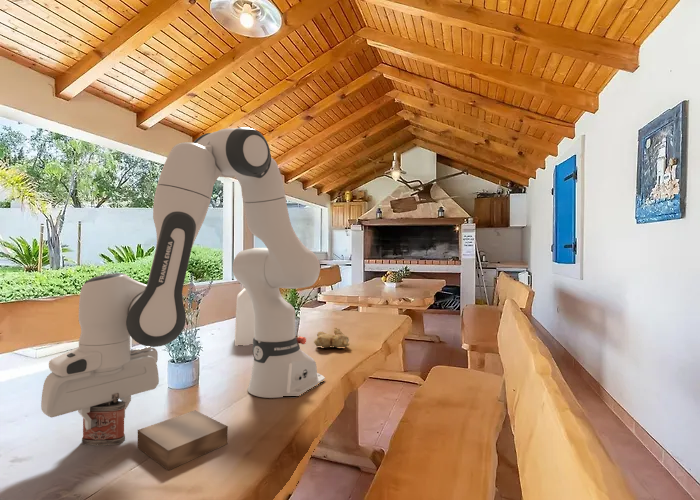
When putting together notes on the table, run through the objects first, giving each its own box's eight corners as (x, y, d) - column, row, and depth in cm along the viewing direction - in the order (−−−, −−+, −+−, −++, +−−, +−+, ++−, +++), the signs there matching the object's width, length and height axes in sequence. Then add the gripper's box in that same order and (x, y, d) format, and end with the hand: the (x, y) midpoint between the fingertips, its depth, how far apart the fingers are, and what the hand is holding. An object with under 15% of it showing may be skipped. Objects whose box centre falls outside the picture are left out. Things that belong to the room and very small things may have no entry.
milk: (234, 338, 165) (235, 277, 165) (262, 337, 169) (263, 277, 169) (235, 345, 154) (236, 279, 154) (265, 344, 157) (265, 279, 157)
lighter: (128, 436, 80) (128, 388, 80) (119, 445, 77) (119, 394, 77) (88, 436, 80) (89, 388, 80) (77, 445, 77) (77, 394, 77)
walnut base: (195, 426, 85) (195, 410, 85) (227, 443, 78) (227, 426, 78) (137, 447, 76) (137, 430, 76) (168, 470, 69) (168, 450, 69)
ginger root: (346, 351, 143) (341, 329, 144) (307, 357, 148) (303, 336, 149) (358, 343, 158) (354, 323, 159) (323, 348, 163) (319, 329, 164)
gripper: (150, 342, 89) (150, 402, 89) (38, 363, 73) (38, 437, 73) (164, 346, 85) (164, 410, 85) (48, 370, 69) (49, 448, 69)
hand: (105, 423), depth 79 cm, fingers open, 4 cm apart
